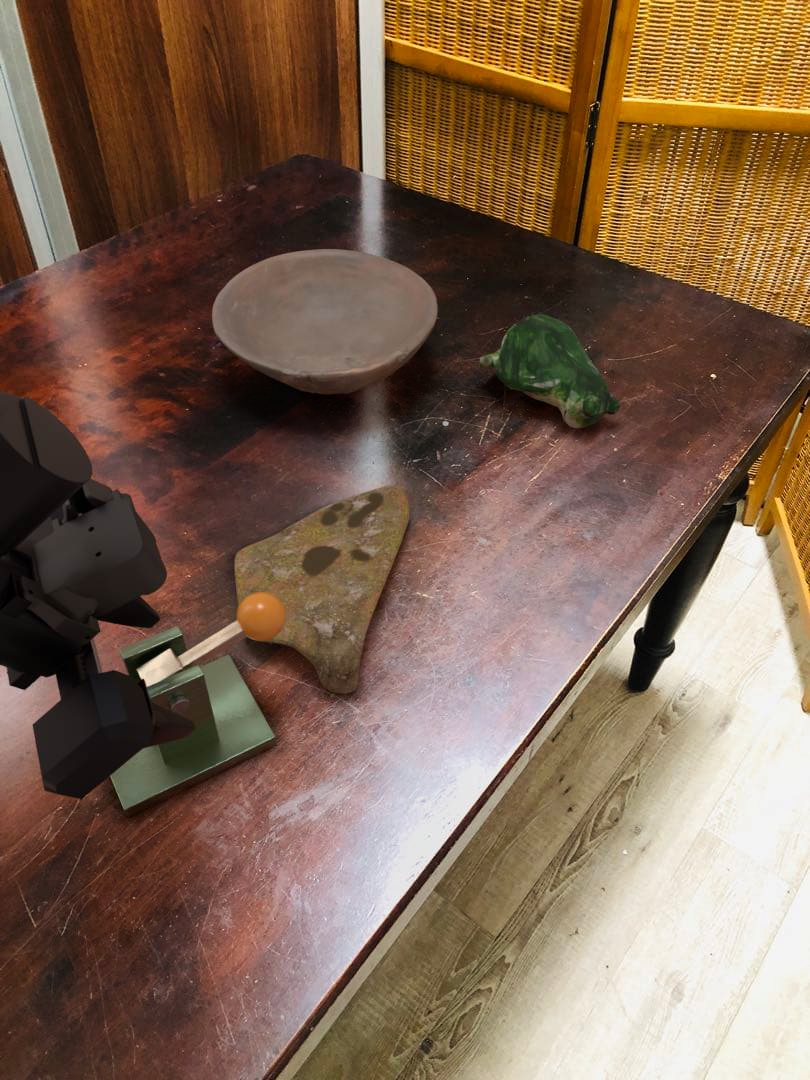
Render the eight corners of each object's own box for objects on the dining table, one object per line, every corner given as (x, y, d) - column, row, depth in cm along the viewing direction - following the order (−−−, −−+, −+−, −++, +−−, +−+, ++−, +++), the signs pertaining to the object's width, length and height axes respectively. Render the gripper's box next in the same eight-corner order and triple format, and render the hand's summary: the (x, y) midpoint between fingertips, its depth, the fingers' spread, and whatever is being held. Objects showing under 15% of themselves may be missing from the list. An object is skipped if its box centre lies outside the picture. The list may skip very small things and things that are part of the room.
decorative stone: (359, 702, 71) (351, 659, 68) (189, 677, 75) (174, 635, 72) (431, 518, 89) (427, 478, 86) (292, 506, 93) (283, 467, 90)
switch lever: (279, 599, 67) (264, 574, 64) (300, 632, 65) (285, 607, 62) (150, 679, 65) (128, 657, 63) (167, 716, 63) (146, 694, 60)
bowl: (398, 296, 114) (399, 234, 107) (465, 413, 98) (471, 348, 91) (204, 324, 108) (194, 261, 102) (242, 454, 92) (232, 388, 86)
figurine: (459, 369, 98) (548, 447, 91) (492, 297, 94) (588, 374, 86) (536, 369, 107) (623, 441, 100) (570, 304, 103) (663, 374, 95)
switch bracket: (230, 662, 74) (215, 586, 67) (276, 744, 69) (266, 672, 62) (89, 724, 69) (57, 650, 62) (127, 817, 64) (96, 749, 57)
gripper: (98, 628, 38) (311, 714, 50) (35, 385, 50) (221, 502, 62) (-70, 776, 40) (173, 825, 52) (-93, 510, 52) (110, 600, 64)
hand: (171, 673), depth 57 cm, fingers open, 9 cm apart
